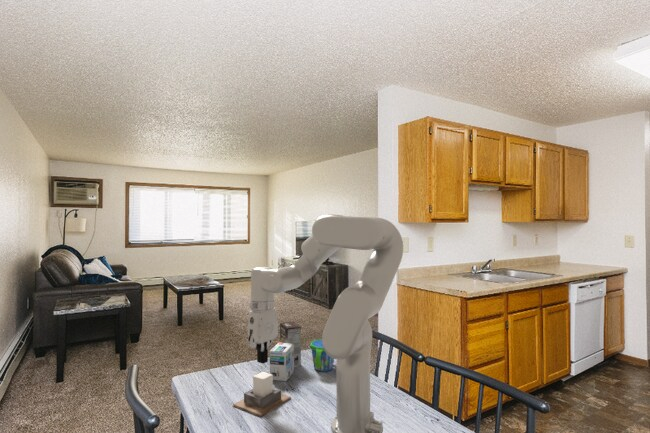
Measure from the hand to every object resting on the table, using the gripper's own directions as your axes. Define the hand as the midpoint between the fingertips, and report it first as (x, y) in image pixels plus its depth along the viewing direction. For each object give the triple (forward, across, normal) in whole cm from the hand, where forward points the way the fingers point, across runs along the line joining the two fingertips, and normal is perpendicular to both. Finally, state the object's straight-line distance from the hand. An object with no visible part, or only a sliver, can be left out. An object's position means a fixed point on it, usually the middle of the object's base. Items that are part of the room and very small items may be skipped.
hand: (262, 361), depth 118 cm
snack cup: (+13, +34, -1) cm, 36 cm away
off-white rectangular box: (+12, 0, 0) cm, 12 cm away
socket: (+13, 0, 0) cm, 13 cm away
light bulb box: (+13, +20, +9) cm, 26 cm away
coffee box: (+13, +31, +14) cm, 36 cm away
